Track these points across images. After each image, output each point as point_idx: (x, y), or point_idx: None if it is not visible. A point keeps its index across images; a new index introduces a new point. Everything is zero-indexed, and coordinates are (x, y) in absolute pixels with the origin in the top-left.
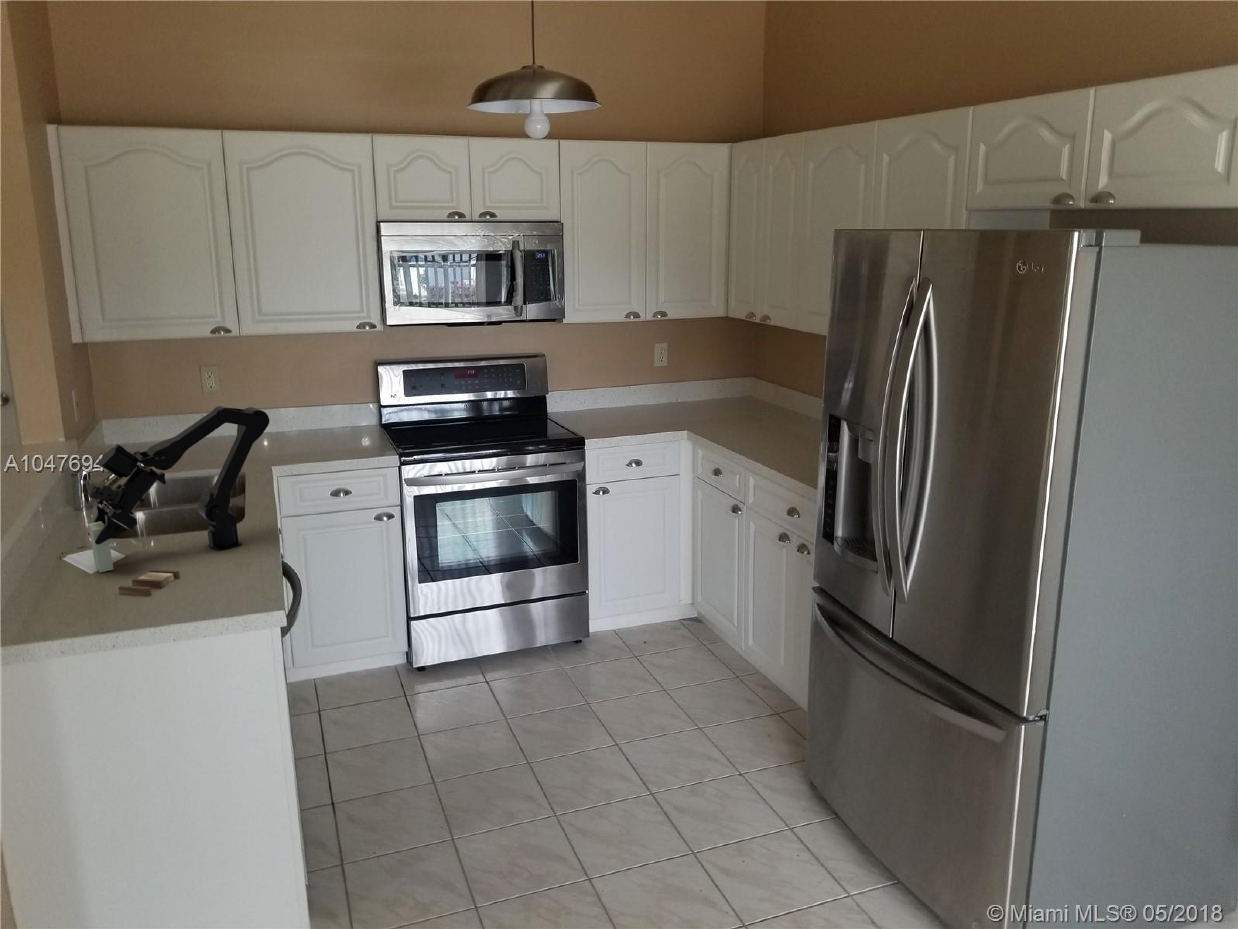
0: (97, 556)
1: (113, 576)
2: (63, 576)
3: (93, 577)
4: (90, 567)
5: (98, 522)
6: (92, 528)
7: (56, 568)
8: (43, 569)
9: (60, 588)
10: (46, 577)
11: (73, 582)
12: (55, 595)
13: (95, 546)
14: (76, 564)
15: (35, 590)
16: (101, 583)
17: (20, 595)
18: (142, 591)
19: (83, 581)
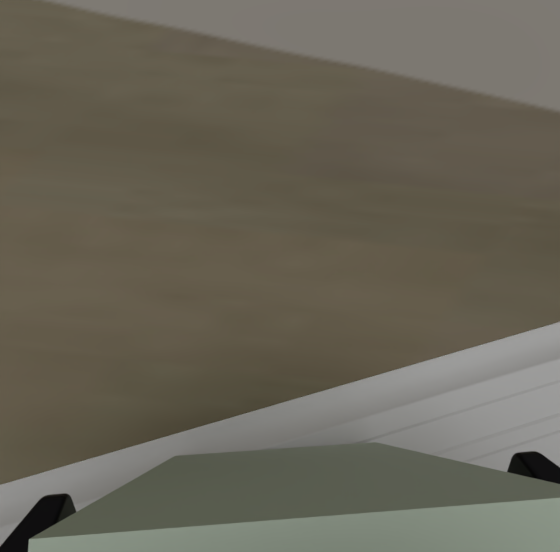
0: (150, 471)
1: None
2: (348, 246)
3: (203, 405)
4: (392, 409)
5: None
6: (174, 550)
7: (534, 228)
8: (553, 166)
9: (122, 207)
10: (389, 165)
11: (186, 283)
12: (11, 171)
13: (130, 484)
14: (549, 338)
15: (187, 96)
16: (30, 439)
17: (155, 30)
18: None
19: (162, 339)
